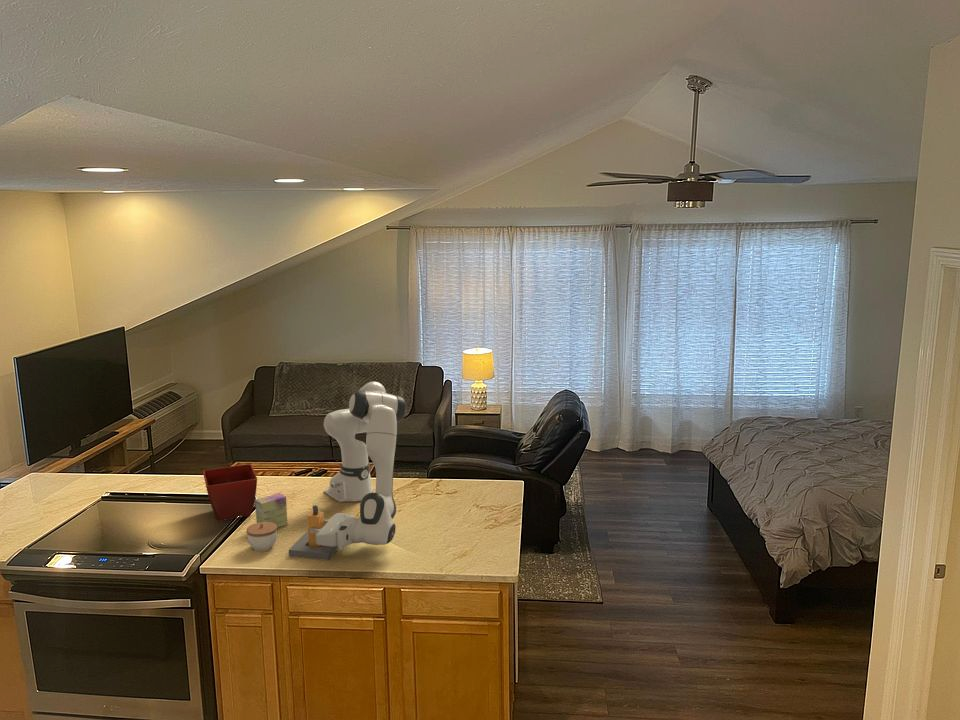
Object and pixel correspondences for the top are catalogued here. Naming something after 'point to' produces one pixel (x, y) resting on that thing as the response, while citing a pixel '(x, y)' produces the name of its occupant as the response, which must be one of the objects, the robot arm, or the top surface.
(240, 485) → the plant pot
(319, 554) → the socket
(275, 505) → the box
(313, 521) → the plug
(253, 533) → the lidded jar
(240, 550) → the top surface
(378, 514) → the robot arm
